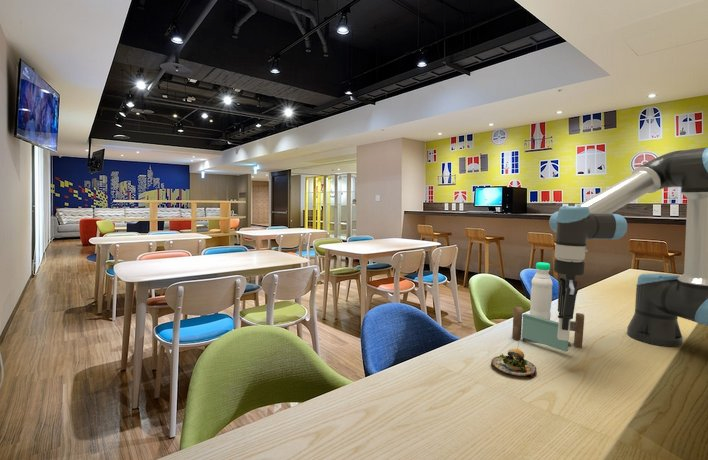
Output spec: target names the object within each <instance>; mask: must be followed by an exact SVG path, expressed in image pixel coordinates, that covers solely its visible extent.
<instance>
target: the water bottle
mask: <svg viewBox="0 0 708 460" xmlns="http://www.w3.org/2000/svg"><path fill="white" fill-rule="evenodd" d="M535 270H536V272H535V274H534V276H533V277H532V279H531V281H530V282H531V289H530V301H529V303H530V304H529V305H530V310H529V315H533V316H537V317H540V318H544V319H548V320H551V316H552V315H551V313H552V312H551V310H552V309H551V308H552V300H553V288H552V287H553V285H554V284H553V281H552V278H551V275H550V274H549V272H550V271H551V264H550V263H549V262H543V261H542V262H541V261H540V262H536V264H535Z"/></svg>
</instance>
